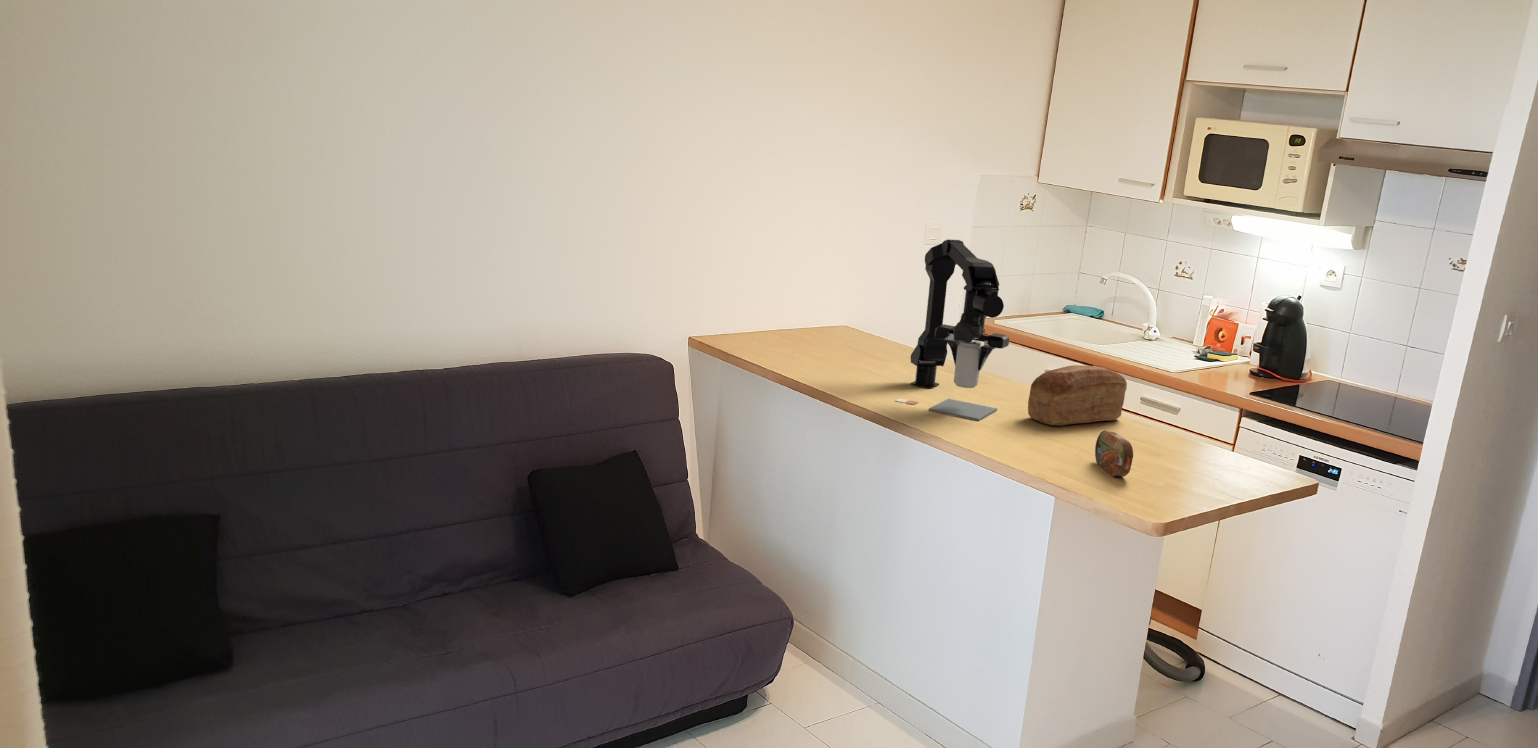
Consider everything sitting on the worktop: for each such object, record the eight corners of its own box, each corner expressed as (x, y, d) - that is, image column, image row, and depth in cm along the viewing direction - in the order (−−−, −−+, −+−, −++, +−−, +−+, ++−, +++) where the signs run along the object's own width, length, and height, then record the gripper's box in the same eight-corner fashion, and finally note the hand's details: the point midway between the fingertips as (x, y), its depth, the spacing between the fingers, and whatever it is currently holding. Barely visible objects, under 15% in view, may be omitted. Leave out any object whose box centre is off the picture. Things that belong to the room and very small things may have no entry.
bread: (1128, 422, 285) (1136, 370, 282) (1051, 430, 271) (1059, 375, 268) (1095, 410, 295) (1102, 359, 292) (1019, 417, 281) (1026, 364, 278)
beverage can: (977, 389, 279) (982, 345, 276) (952, 387, 280) (957, 342, 277) (977, 384, 285) (983, 340, 282) (953, 381, 286) (958, 337, 283)
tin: (1092, 460, 248) (1097, 425, 246) (1105, 460, 249) (1110, 426, 247) (1117, 481, 234) (1123, 445, 232) (1131, 482, 234) (1137, 445, 232)
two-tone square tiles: (899, 398, 292) (899, 398, 291) (918, 402, 289) (918, 402, 289) (894, 401, 289) (895, 400, 289) (914, 405, 286) (914, 404, 286)
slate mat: (948, 400, 293) (948, 398, 293) (997, 410, 287) (997, 408, 286) (928, 410, 282) (928, 408, 281) (979, 421, 275) (979, 418, 275)
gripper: (929, 308, 276) (923, 366, 279) (999, 319, 266) (991, 380, 270) (945, 303, 285) (939, 360, 289) (1013, 314, 276) (1005, 372, 280)
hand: (967, 368), depth 281 cm, fingers closed on beverage can, 6 cm apart
